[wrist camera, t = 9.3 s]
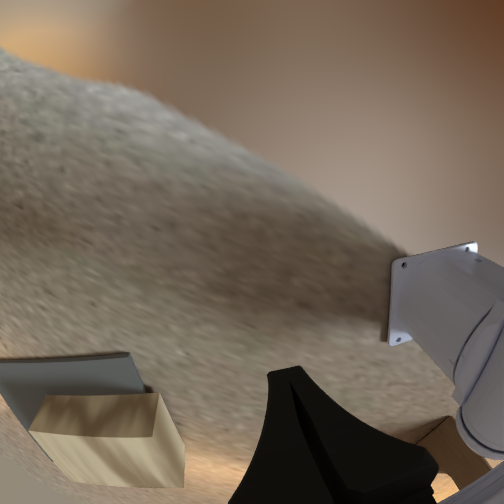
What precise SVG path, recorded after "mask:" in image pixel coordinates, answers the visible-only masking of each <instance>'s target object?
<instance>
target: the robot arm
mask: <svg viewBox="0 0 504 504" xmlns="http://www.w3.org/2000/svg"><path fill="white" fill-rule="evenodd" d="M465 249H466V250H465ZM404 262H405V264H404V266H402V264H403V263H404ZM397 338H398V339H397ZM412 339H413V340H414V341H415V342H416V343H417V344H418V345H419V346H420V347H421V348H422V349H423V350H424V351H425V352H426V354H427V355H428V356H429V357H430V358H431V359H432V360H433V361H434V362H435V363H436V365H437V366H438V367H439V368H440V369H441V370H442V371H443V372H444V373H445V375H446V376H447V377H448V378H449V379H450V380H451V381H452V382H453V384H454V385H455V390H454V392H453V394H452V397H453V398H454V399H455V401H456V402H457V403H458V404H459V405H460V407H459V408H458V410H457V413H456V427H457V430H458V432H459V434H460V436H461V438H462V439H463V441H464V442H465V443H466V445H467V446H468V447H469V448H470V449H471V450H472V451H474V452H475V453H477V454H478V455H480V456H483V457H486V458H490V459H494V460H504V267H502V266H500V265H498V264H497V263H495V262H493V261H491V260H489V259H487V258H485V257H483V256H481V255H479V254H478V253H477V243H476V242H474V241H472V242H468V243H464V244H459V245H455V246H451V247H447V248H443V249H439V250H435V251H430V252H426V253H421V254H417V255H413V256H408V257H404V258H399V259H396V260H394V261H393V263H392V270H391V296H390V313H389V327H388V338H387V343H388V344H389V345H390V346H394V345H397V344H400V343H403V342H406V341H409V340H412ZM267 378H268V402H267V410H266V415H265V420H264V425H263V429H262V432H261V436H260V439H259V442H258V445H257V448H256V451H255V453H254V456H253V458H252V461H251V463H250V465H249V467H248V469H247V471H246V473H245V475H244V477H243V479H242V481H241V483H240V484H239V486H238V488H237V489H236V491H235V492H234V494H233V495H232V497H231V499H230V500H229V502H228V504H504V461H503V462H501V463H500V464H499V465H497V466H496V467H495V468H493V469H492V470H490V471H489V472H488V473H486V474H485V475H483V476H482V477H480V478H479V479H477V480H476V481H474V482H473V483H471V484H469V485H468V486H466V487H465V488H463V489H461V490H460V491H458V492H456V493H455V494H453V495H451V496H450V497H448V498H446V499H444V500H442V501H441V502H439V503H436V501H435V499H434V497H433V496H432V495H433V494H434V490H433V489H432V487H431V483H432V482H433V480H434V478H435V477H436V475H437V473H438V471H439V465H438V463H437V462H436V460H435V459H434V457H433V456H432V455H431V454H430V453H429V452H428V450H427V449H426V448H425V447H422V446H418V445H415V444H411V443H408V442H405V441H402V440H399V439H397V438H394V437H392V436H389V435H387V434H385V433H383V432H381V431H379V430H377V429H375V428H373V427H371V426H369V425H367V424H366V423H364V422H362V421H361V420H359V419H358V418H356V417H355V416H353V415H352V414H350V413H349V412H347V411H346V410H345V409H343V408H342V407H341V406H340V405H338V404H337V403H336V402H335V401H334V400H332V399H331V398H330V397H329V396H328V395H327V394H326V393H325V392H324V391H323V390H322V389H321V388H320V387H319V386H318V385H317V384H316V383H315V382H314V381H313V380H312V379H311V378H310V377H309V376H308V374H307V373H306V372H305V371H304V369H303V368H302V367H301V366H294V367H290V368H285V369H281V370H276V371H271V372H269V373H268V374H267Z"/></svg>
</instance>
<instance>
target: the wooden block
mask: <svg viewBox="0 0 504 504" xmlns="http://www.w3.org/2000/svg"><path fill="white" fill-rule="evenodd" d="M415 445H418V446H422V447H425V448H426V449H427V450H428V452H429V453H430V454H431V455H432V456H433V457H434V459H435V460H436V462H437V463H438V465H439V471H438V473H445V474H448V475H449V476H450V477H451V478H452V479H453V481H454V482H455V484H456V486H457V487H458V489H459V490H461V489H463V488H465V487H466V486H468V485H469V484H471V483H473V482H474V481H476V480H477V479H479V478H480V477H482V476H483V475H485V474H486V473H488V472H489V471H490V470H492V467H491V466H490V465H489V463H488V462H487V461H486V459H485V458H484V457H483V456H480V455H478V454H477V453H475V452H474V451H472V450H471V449H470V448H469V447H468V446H467V445H466V443H465V442H464V441H463V439H462V438H461V436H460V434H459V432H458V430H457V427H456V420H455V419H454V418H453V417H452V416H449V417H448V418H447V419H446V420H444V421H443V422H442V423H441V424H440V425H439V426H437V427H436V428H435V429H434V430H433V431H432V432H430V433H429V434H428V435H427V436H426V437H424V438H423V439H422V440H421V441H419V442H418V443H417V444H415ZM438 473H437V474H438Z"/></svg>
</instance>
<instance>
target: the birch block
mask: <svg viewBox="0 0 504 504" xmlns="http://www.w3.org/2000/svg"><path fill="white" fill-rule="evenodd" d="M28 431H29V432H30V433H31V435H32V436H33V437H34V439H35V440H36V441H37V442H38V444H39V445H40V446H41V447H42V449H43V450H44V451H45V452H46V453H47V455H48V456H49V457H50V458H51V459H52V460H53V461H54V463H55V464H56V465H57V466H58V467H59V468H60V469H61V470H62V471H63V473H64V474H65V475H66V476H67V477H68V478H69V479H70V480H71V481H75V482H82V483H89V484H98V485H108V486H120V487H138V488H184V468H185V446H184V444H183V442H182V440H181V438H180V436H179V433H178V431H177V429H176V427H175V425H174V423H173V421H172V419H171V417H170V414H169V412H168V410H167V408H166V406H165V403H164V401H163V399H162V397H161V394H160V392H159V393H146V394H128V395H97V396H68V395H46V397H45V399H44V401H43V403H42V405H41V407H40V408H39V410H38V412H37V414H36V416H35V418H34V420H33V422H32V424H31V426H30V428H29V430H28Z"/></svg>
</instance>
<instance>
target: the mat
mask: <svg viewBox="0 0 504 504" xmlns="http://www.w3.org/2000/svg"><path fill="white" fill-rule="evenodd" d="M146 393H147V391H146V389H145V387H144V385H143V382H142V380H141V378H140V376H139V374H138V371H137V369H136V367H135V364H134V362H133V360H132V357H131V355H130V353H123V354H113V355H101V356H88V357H73V358H55V359H28V360H0V394H1V395H2V397H3V398H4V400H5V401H6V403H7V404H8V406H9V407H10V409H11V410H12V411H13V413H14V414H15V416H16V417H17V418H18V420H19V421H20V423H21V424H22V425H23V427H24V428H25V429H26V431H27V432H28V433H29V434H30V436H31V437H32V438H33V439H34V437H33V436H32V435H31V433H30V432H29V431H28V430H29V428H30V426H31V424H32V422H33V420H34V418H35V416H36V414H37V412H38V410H39V408H40V407H41V405H42V403H43V401H44V399H45V397H46V395H68V396H97V395H128V394H146ZM34 441H35V442H36V443H37V444H38V442H37V441H36V440H35V439H34ZM38 446H39V447H40V448H41V449H42V447H41V446H40V445H39V444H38ZM42 450H43V449H42ZM43 452H44V453H45V454H46V455H47V453H46V452H45V451H44V450H43ZM47 456H48V455H47ZM48 457H49V456H48ZM49 459H50V460H51V461H52V462H54V461H53V460H52V459H51V458H50V457H49Z"/></svg>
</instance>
